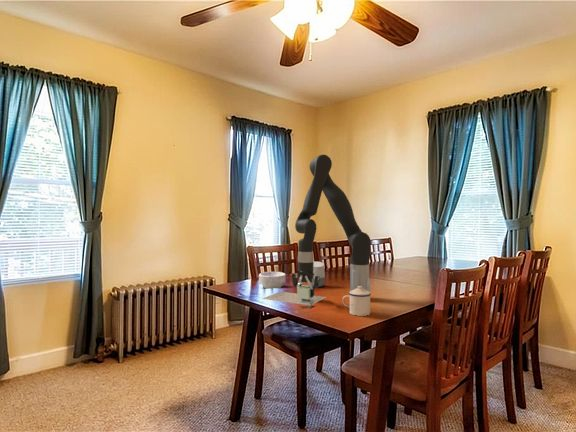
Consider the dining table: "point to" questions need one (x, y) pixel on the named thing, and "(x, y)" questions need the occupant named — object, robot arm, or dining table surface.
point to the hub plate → (294, 299)
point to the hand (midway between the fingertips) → (305, 296)
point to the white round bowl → (272, 279)
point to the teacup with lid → (359, 301)
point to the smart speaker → (319, 273)
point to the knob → (303, 292)
